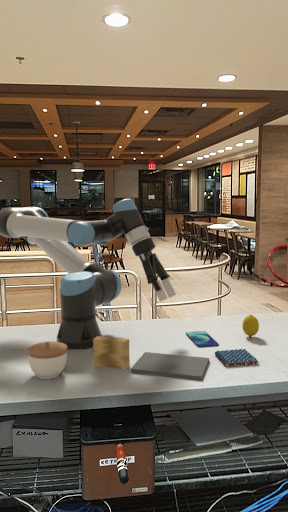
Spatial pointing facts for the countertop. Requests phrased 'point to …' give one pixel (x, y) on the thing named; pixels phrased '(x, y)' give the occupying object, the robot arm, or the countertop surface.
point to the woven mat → (235, 357)
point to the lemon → (250, 325)
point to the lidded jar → (47, 359)
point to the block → (111, 352)
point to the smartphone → (201, 339)
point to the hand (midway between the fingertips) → (168, 298)
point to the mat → (171, 365)
